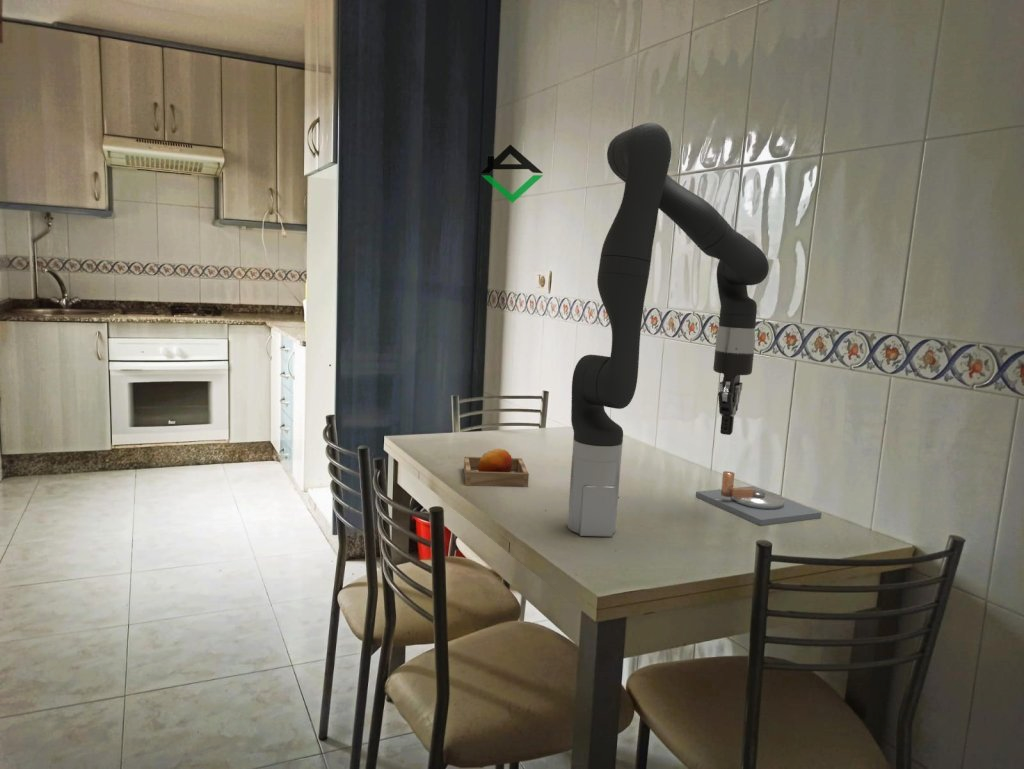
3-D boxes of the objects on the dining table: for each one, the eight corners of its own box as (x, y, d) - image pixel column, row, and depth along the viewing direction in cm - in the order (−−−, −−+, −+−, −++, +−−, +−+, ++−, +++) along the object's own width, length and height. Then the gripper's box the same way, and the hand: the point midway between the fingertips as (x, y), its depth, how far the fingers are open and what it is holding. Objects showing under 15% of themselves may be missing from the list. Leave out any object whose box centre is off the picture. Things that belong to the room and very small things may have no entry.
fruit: (507, 479, 168) (493, 447, 169) (481, 491, 172) (468, 459, 173) (525, 472, 175) (512, 441, 176) (500, 484, 179) (487, 453, 180)
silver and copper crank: (770, 494, 169) (772, 467, 168) (792, 509, 158) (796, 481, 157) (711, 492, 167) (714, 466, 166) (730, 508, 156) (733, 479, 155)
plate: (820, 517, 158) (821, 511, 157) (759, 525, 150) (760, 518, 150) (752, 490, 175) (753, 484, 175) (694, 496, 168) (695, 490, 168)
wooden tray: (528, 486, 168) (528, 474, 168) (466, 485, 167) (466, 472, 166) (521, 470, 182) (521, 458, 182) (463, 468, 181) (464, 456, 180)
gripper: (748, 354, 142) (739, 442, 145) (758, 349, 154) (750, 431, 157) (708, 350, 145) (700, 437, 148) (721, 345, 157) (714, 426, 160)
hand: (726, 433), depth 152 cm, fingers closed
